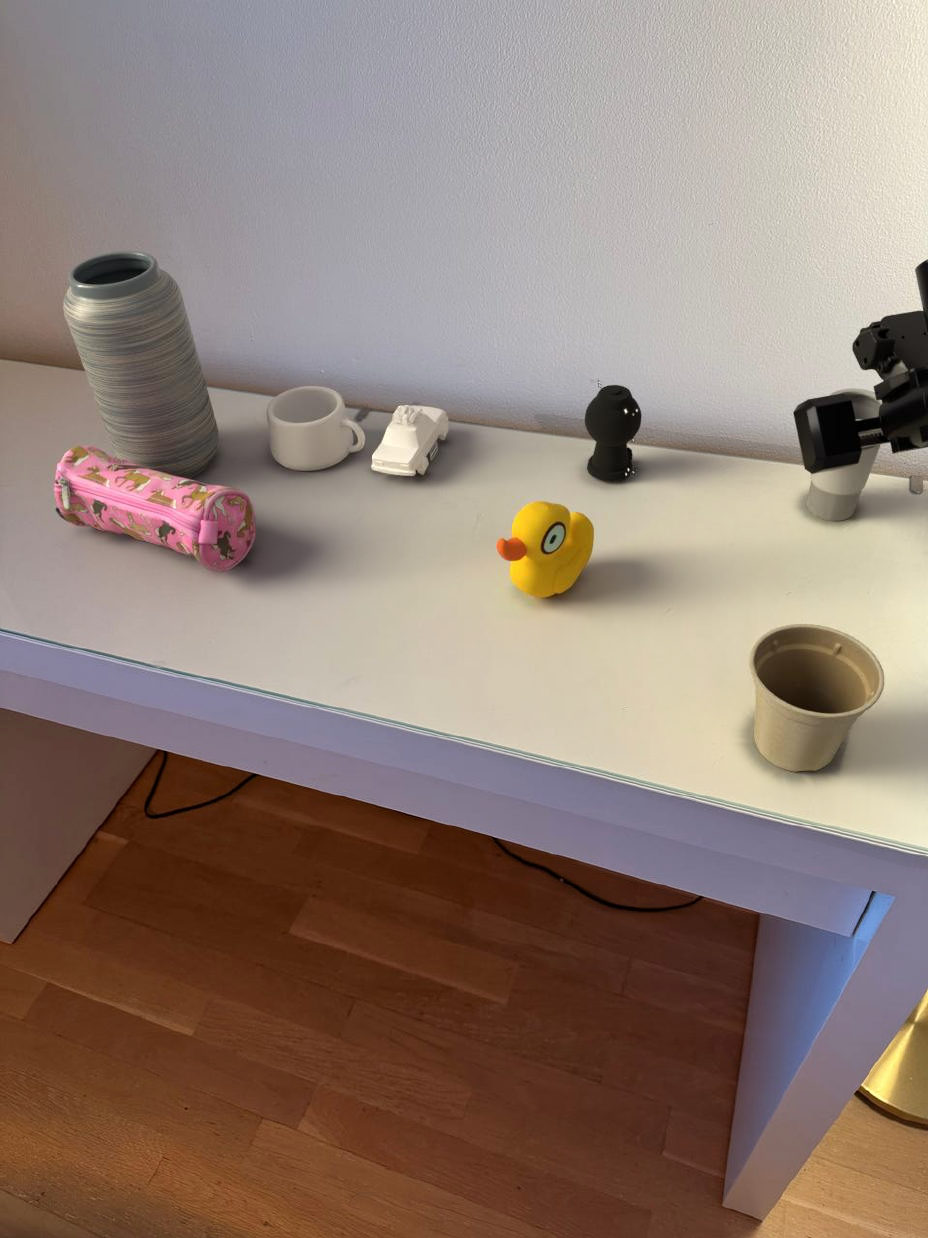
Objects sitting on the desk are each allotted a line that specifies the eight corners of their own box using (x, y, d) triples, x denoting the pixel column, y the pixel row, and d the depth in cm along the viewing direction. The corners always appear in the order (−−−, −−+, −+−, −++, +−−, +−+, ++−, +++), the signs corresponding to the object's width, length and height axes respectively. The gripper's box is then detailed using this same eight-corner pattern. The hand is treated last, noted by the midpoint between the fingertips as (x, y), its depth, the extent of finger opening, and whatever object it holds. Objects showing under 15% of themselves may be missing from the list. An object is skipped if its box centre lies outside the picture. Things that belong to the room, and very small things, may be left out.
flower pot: (740, 687, 78) (758, 612, 72) (859, 711, 76) (886, 636, 70) (724, 773, 72) (741, 699, 66) (852, 803, 69) (882, 729, 63)
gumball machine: (651, 476, 101) (660, 394, 94) (609, 496, 99) (615, 414, 92) (611, 449, 105) (616, 369, 98) (570, 468, 103) (572, 387, 96)
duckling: (521, 631, 84) (520, 546, 78) (482, 603, 88) (477, 518, 81) (606, 574, 90) (612, 489, 83) (566, 549, 93) (569, 465, 86)
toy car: (454, 433, 109) (450, 381, 104) (418, 491, 101) (413, 438, 96) (406, 426, 111) (401, 375, 106) (368, 483, 103) (360, 430, 98)
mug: (256, 464, 106) (244, 419, 102) (298, 421, 113) (289, 377, 108) (347, 485, 103) (340, 438, 98) (386, 439, 109) (381, 393, 105)
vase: (102, 481, 106) (26, 285, 90) (163, 428, 113) (103, 239, 97) (186, 500, 102) (122, 299, 86) (243, 445, 110) (195, 251, 94)
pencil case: (59, 541, 98) (27, 471, 92) (119, 493, 104) (93, 424, 98) (220, 596, 90) (197, 524, 84) (275, 541, 96) (258, 470, 90)
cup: (854, 535, 92) (886, 431, 84) (787, 517, 94) (812, 414, 86) (872, 497, 96) (904, 394, 88) (807, 480, 99) (832, 379, 90)
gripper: (1041, 281, 75) (922, 345, 91) (829, 315, 73) (744, 375, 88) (1069, 415, 75) (945, 456, 90) (857, 454, 73) (767, 489, 88)
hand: (851, 441), depth 89 cm, fingers open, 9 cm apart
